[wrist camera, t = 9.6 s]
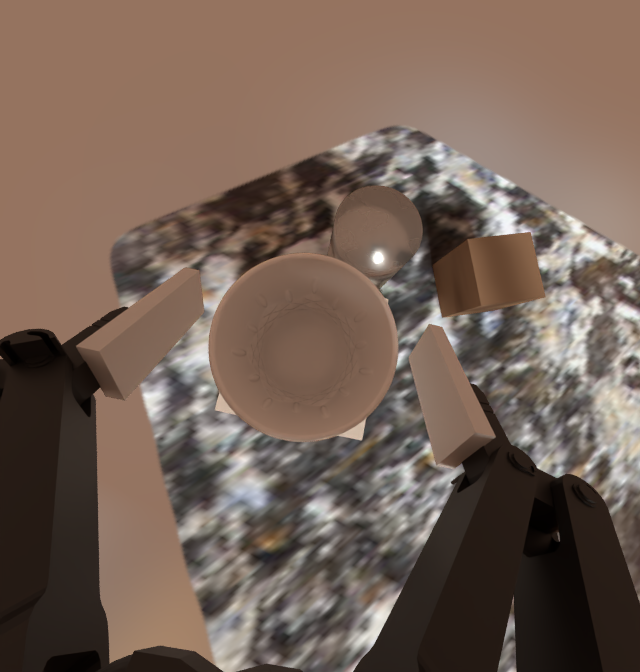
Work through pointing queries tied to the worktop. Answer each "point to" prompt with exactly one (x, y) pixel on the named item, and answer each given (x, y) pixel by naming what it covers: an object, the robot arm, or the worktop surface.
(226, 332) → the white cup
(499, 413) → the worktop surface
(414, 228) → the grey tin
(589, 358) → the worktop surface
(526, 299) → the walnut block
